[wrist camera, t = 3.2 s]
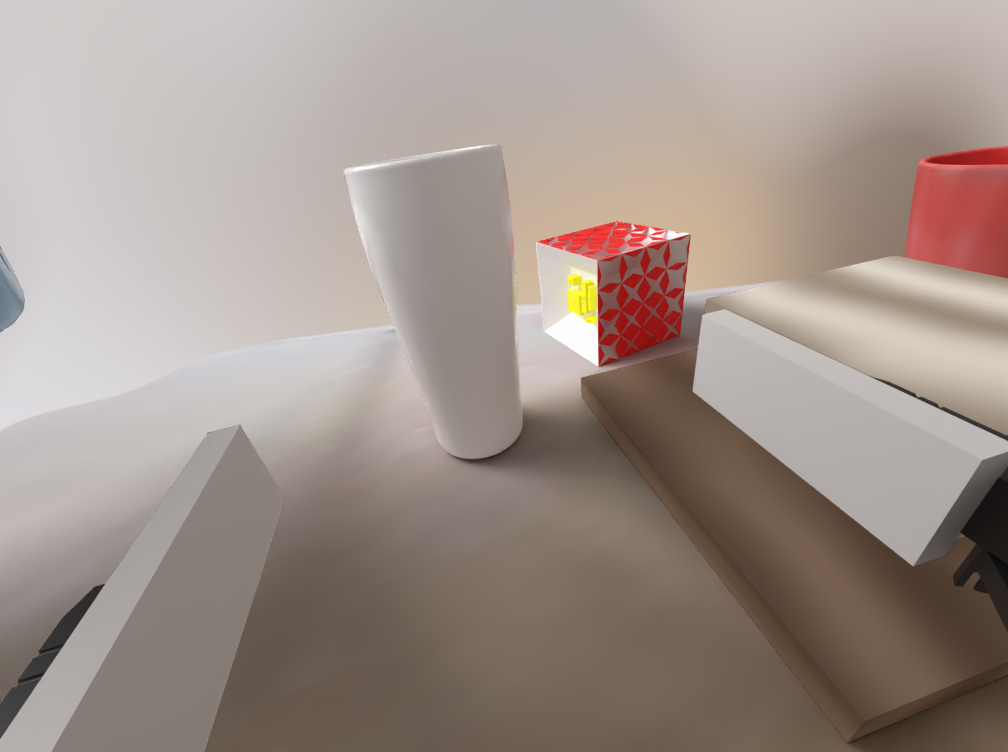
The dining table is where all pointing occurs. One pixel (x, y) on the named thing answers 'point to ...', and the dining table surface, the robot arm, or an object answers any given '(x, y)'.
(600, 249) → the red patterned cube
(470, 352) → the drinking glass
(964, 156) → the flower pot
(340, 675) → the dining table surface
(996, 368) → the display stand
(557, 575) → the dining table surface
